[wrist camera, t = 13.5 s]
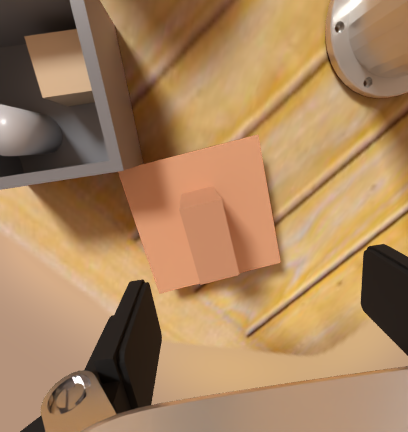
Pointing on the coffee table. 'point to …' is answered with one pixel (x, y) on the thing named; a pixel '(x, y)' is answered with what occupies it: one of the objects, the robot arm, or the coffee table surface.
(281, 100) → the coffee table surface
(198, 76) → the coffee table surface
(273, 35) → the coffee table surface
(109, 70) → the storage box
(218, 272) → the lid
